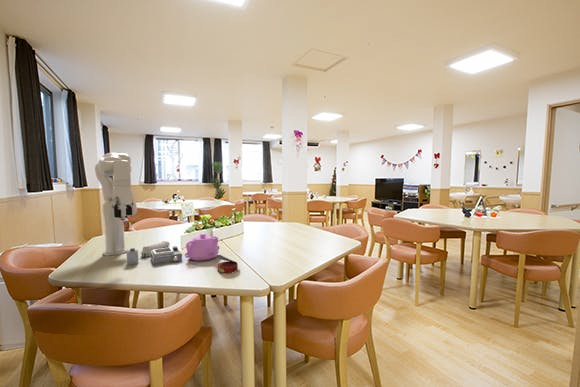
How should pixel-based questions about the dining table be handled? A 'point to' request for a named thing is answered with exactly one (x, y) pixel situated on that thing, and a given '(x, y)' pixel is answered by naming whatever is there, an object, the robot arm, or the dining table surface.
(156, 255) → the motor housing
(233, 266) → the canned food
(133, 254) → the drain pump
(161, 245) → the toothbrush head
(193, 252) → the teapot
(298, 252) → the dining table surface
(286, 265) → the dining table surface
